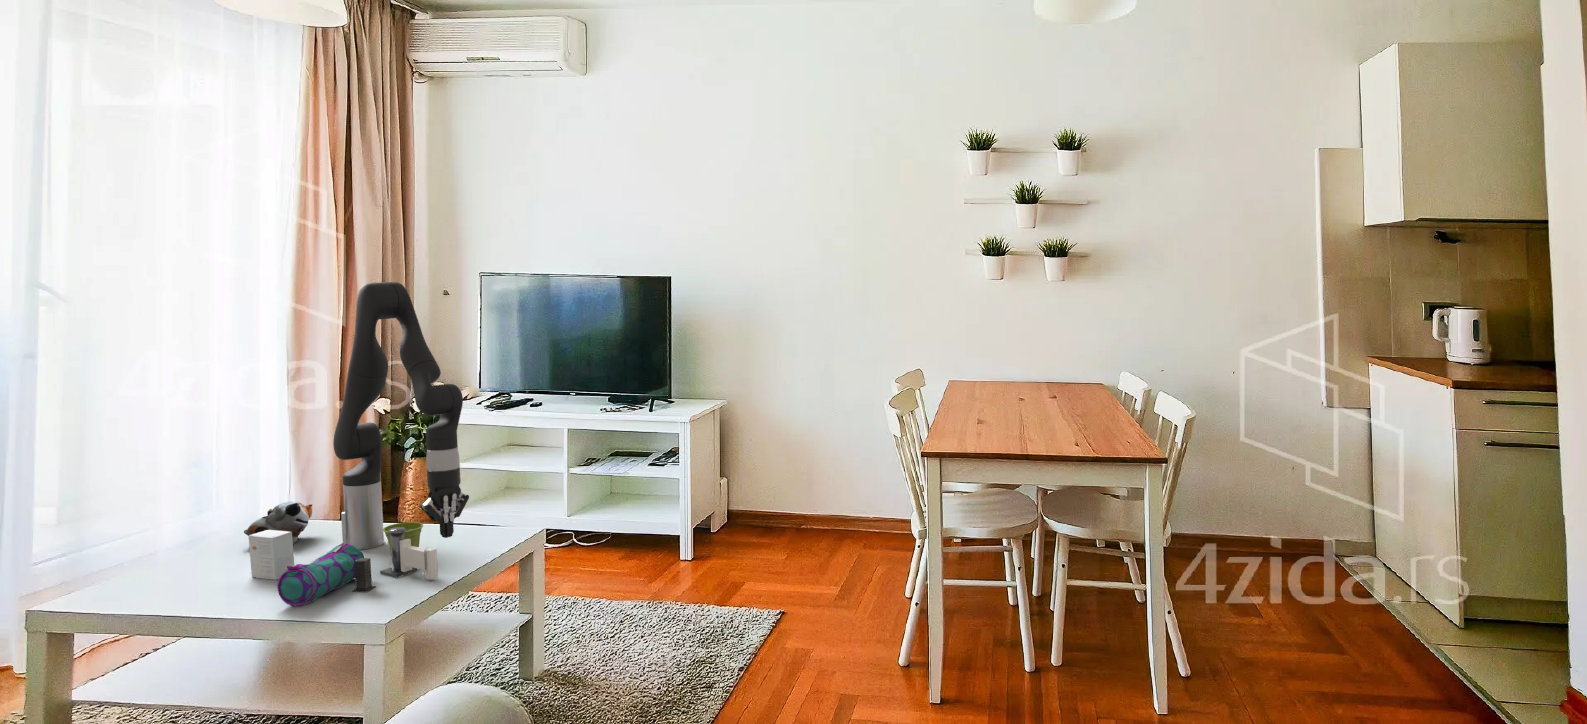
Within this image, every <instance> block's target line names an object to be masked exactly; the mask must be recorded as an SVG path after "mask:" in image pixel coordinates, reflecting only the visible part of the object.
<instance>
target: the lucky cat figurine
mask: <svg viewBox="0 0 1587 724" xmlns="http://www.w3.org/2000/svg"><path fill="white" fill-rule="evenodd" d="M312 516H313V504H310V503H309V504H306V505H304V504H303V503H301V502H297V501H292V500H291V501H287V502H281V503H279V504H277V505H275V506H274V508H269V509H268V510H267V515H265V516H262V517H260V518H258V519H256V520H255V521H253V522H252V523H251V524H250V525H249V526H248V528H247V529H245V530H243V534H245V535H246V536H248V537H249V535H252V534H255V533H259V532H262V531H265V530H276V531H288V532H292V540H293V545H294V544H295V543H296V542H297V540H298V538H299V536H300V535H301V533H302V532H304V531H305V529H306V527H308V525H309V520H310V519H311V518H312Z"/></svg>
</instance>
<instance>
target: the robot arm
mask: <svg viewBox="0 0 1587 724" xmlns="http://www.w3.org/2000/svg"><path fill="white" fill-rule="evenodd" d="M412 301H413V300H412V299H411V297H410V293H408V290H407V289H406V287H405V286H404V285H403V284H402V283H400V282H398V281H385V282H384V281H383V282H382V281H380V282H368V283H365V284H363V285H362V286H361V287H360V288H359V290H358V294H357V297H356V308H355V324H354V336H353V342H352V349H351V353H350V359H349V362H348V363H349V364H348V368H347V369H348V371H347V374H346V382H345V390H344V395H343V399H342V406H341V409H340V413H339V416H338V420H337V423H336V427H335V431H334V435H333V442H332V443H333V452H334V454H335V457H337V458H338V459H339V460H342V461H348V460H355V459H361V460H360V461H359V463H358V464H357V465H356V466H354V467H353V468H351V469H349V470H348V471H345V473H343V475H342V489H343V490H342V491H343V506H344V511H342V512H341V514H340V518H341V534H342V535H341V536H342V537H341V538H342V543H345V544H347V543H349V544H350V545H353V546H355V547H357V548H358V549H360V550H367V549H372V548H376V547H379V546H382V545H383V544H385V543H384V542H385V538H384V537H385V536H384V531H383V529H384V516H383V500H382V498H383V497H382V482H381V475H382V435H381V430H380V427H378V425H377V424H376V423H374V422H362V423H361V422H360V419H361V418H362V416H363V415H364V413H365V412H366V411H367V409H368V408H369V407H370V406H371V405H372V404H373V403H374V402H375V401H376V399H378V398H379V396H380V395H381V393H382V392H383V390H384V389H385V386H386V382H387V377H388V372H389V371H388V370H389V361H388V358H387V356H386V354H385V352H384V350H383V349H382V347H381V344H379V341H378V339H377V335H376V333H377V332H376V331H377V330H376V329H377V324H378V321H379V320H389V319H396V320H397V322H399V324H400V327H401V330H402V332H401V333H402V335H401V341H400V346H399V357H400V360H401V363H402V365H403V367H404V370H405V371H406V372H407V374H408V376H409V378H410V380H411V385H412V389H413V394H414V401H415V405H416V407H417V409H418V411H420V412H421V413H422V414H424V415H426V416H436V415H440V417H439V419H438V421H437V422H434V423H433V424H430V425H429V426H428V427H427V428H426V429H425V438H426V439H425V441H426V457H425V463H426V479H427V482H426V483H427V487H428V490H429V491H428V494H427V498H428V499H427V500H426V501H425V502H424V503H420V506H419V508H420V509H421V510H422V511H423V512H424V513H425V514H426V515H427V516H428V518H429V519H430V520H431V521H432V522H437V523H439V535H440V536H441V537H442V538H446V539H448V538H451V537H453V535H454V529H455V528H454V521H455V519H456V518H459V517H461V515H462V513H463V510H464V508H465V507H466V505H467V503H468V501H469V499H470V495H469V494H464V493H463V492H462V489H461V487H460V485H461V483H462V482H461V468H460V467H461V463H460V454H459V447H458V426H459V423H460V417H461V413H462V409H463V403H464V398H463V394H462V391H461V389H460V388H459V387H458V386H457V385H456V384H453V383H445V384H437V385H436V384H435V385H432V384H433V383H435V382H436V381H437V380H438V379H440V376H441V373H442V372H441V371H442V370H441V368H440V366H439V364H438V363H437V360H436V359H435V356H434V355H433V353H432V352H431V350H430V348H429V346H428V344H427V342H426V340H425V337H424V334H423V332H422V328H421V325H420V322H419V319H418V316H417V313H416V310H415V308H414V305H413V302H412ZM359 422H360V423H359Z"/></svg>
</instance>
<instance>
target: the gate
mask: <svg viewBox="0 0 1587 724" xmlns="http://www.w3.org/2000/svg"><path fill="white" fill-rule="evenodd" d="M400 560H401V571H402V572H406V571H409V570H412V567H413V568H417V569H418V570H421V571H424V578H425V579H426V580H431V581H432V580H435V579H438V577H439V575H438V558H437V548H433V547H429V548H423V547H420V546H419V547H415V546H411V539H404V540H401V541H400Z"/></svg>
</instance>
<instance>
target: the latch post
mask: <svg viewBox="0 0 1587 724" xmlns="http://www.w3.org/2000/svg"><path fill="white" fill-rule="evenodd" d="M371 560H372V559H371V557H370V558H369V557H367V558H366V557H364V558H360V559H358V560H356V561H355V577H356V578H355V588H354V589H352V591H351V592H352V593H369V592H370V591H372V590H373V589H375V588H376V587H377V585H373V582H372V581H373V580H372V562H371Z"/></svg>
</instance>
